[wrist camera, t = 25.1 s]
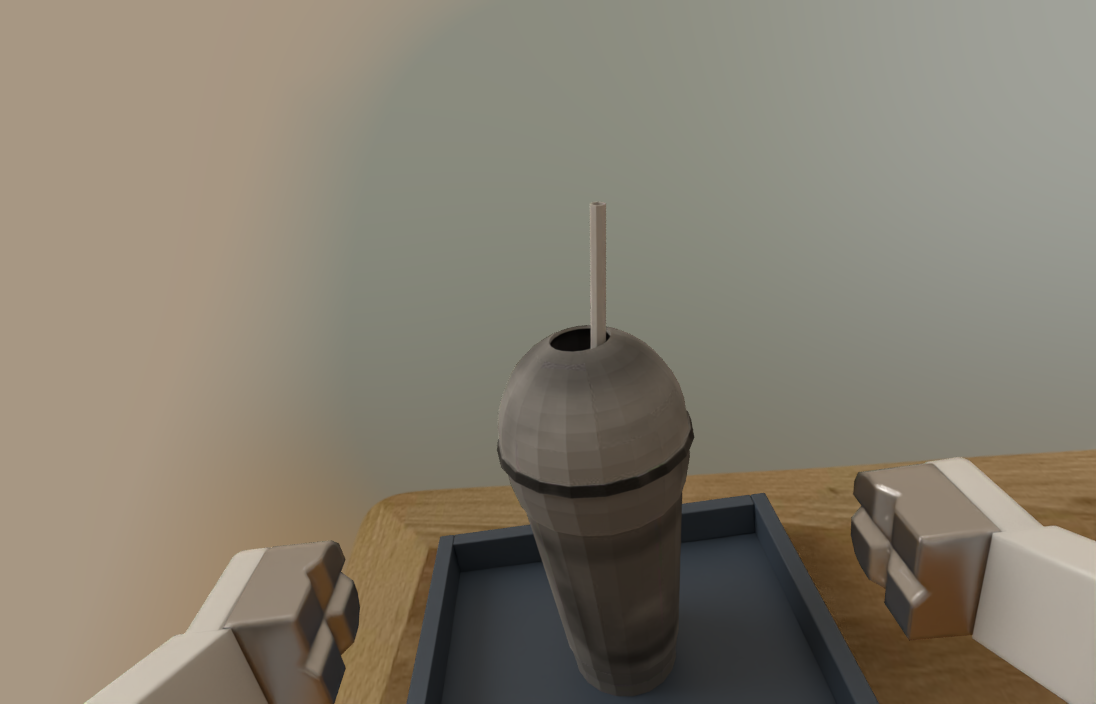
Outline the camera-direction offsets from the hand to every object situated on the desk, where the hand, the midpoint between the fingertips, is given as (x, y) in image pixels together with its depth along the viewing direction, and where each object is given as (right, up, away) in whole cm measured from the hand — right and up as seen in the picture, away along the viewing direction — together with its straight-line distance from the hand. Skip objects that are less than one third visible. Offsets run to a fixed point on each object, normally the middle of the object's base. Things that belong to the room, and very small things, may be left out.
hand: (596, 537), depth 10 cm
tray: (+3, -11, +18) cm, 21 cm away
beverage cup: (+3, -11, +18) cm, 21 cm away
